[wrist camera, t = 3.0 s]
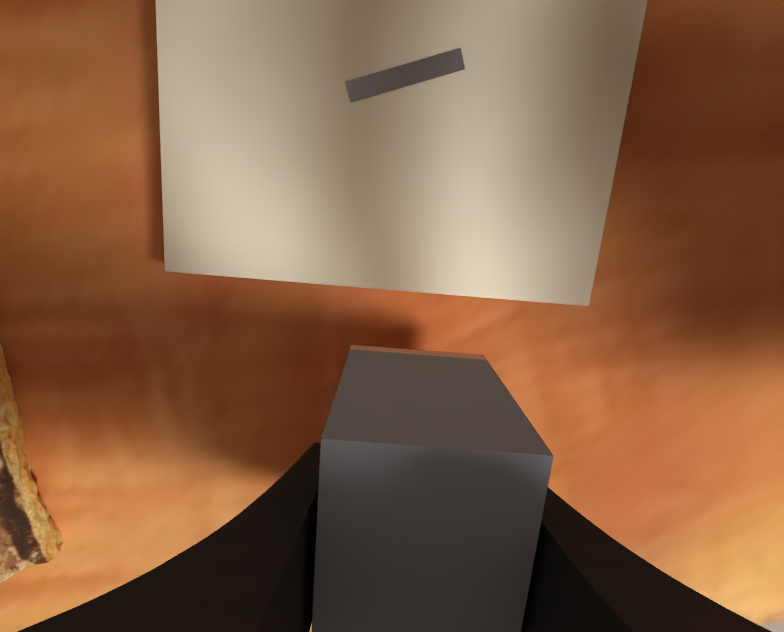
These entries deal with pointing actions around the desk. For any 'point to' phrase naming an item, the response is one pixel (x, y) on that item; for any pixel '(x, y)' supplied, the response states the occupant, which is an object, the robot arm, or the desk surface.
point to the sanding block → (426, 497)
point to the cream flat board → (394, 141)
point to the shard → (20, 494)
